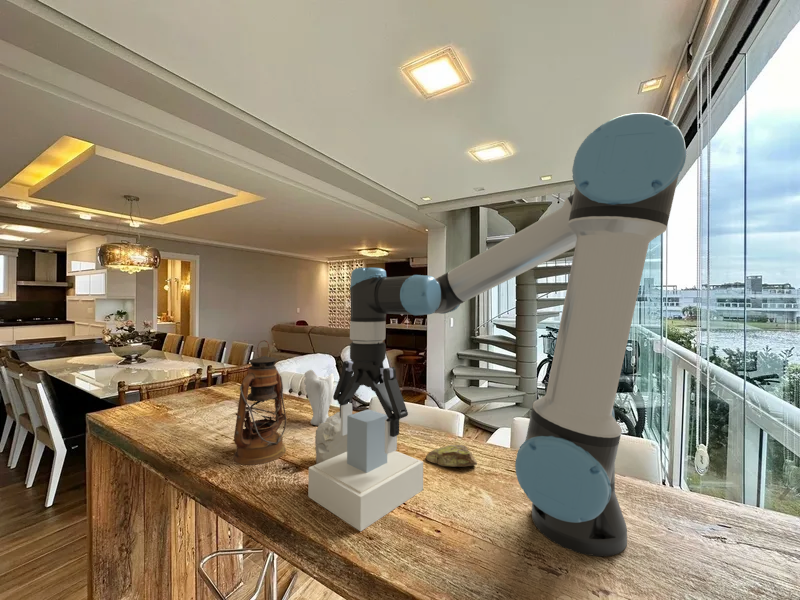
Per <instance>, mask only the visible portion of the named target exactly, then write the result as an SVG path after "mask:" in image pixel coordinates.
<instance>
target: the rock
mask: <svg viewBox="0 0 800 600" xmlns="http://www.w3.org/2000/svg"><path fill="white" fill-rule="evenodd" d="M425 459H426V460H427V461H428V462H431V463H433V464H438V466H442V467H455V468H456V467H470V466H477V465H478V462H477V460H476V458H475V456H474V455H473V452H471V451H470V450H469V447H468V446H466V445H464V444H463V445H462V444H449V445H446V446H443V447H438V448H435V449H433V450H431V451H429V452H428V453H427V455H426V456H425Z"/></svg>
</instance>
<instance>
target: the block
mask: <svg viewBox="0 0 800 600" xmlns="http://www.w3.org/2000/svg"><path fill="white" fill-rule="evenodd" d="M386 419H388V417H387V415H386V413H385V414H384V413H381V412H379V411H378V412H377V411H376V410H372V409H364V410H361V411H359V412H355V413H352V415H348V416H347V464H349V465H351V466H353V467H355V468H357V469H359V470H361V471H363V472H365V473H368V472H370V471H372V470H374V469H376V468H378V467H380V466H382V465H384V464H386V463H387V454H386V453H385V420H386Z"/></svg>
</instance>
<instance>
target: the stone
mask: <svg viewBox="0 0 800 600" xmlns="http://www.w3.org/2000/svg"><path fill="white" fill-rule="evenodd" d="M314 443H315V461H316V464H319V463H321V462H323V461H326V460H328V459H331V458H333V457H335V456H338V455H340V454H343V453H345V452H347V434H346V435H344V436H342V435H341V418H340V411H337V412H335V413H334V414H333V415H331V416H330V415H329V417H328V418H327V419H326V421H325V423H321V424H319V425H317V428H316V430H315V441H314Z"/></svg>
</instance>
